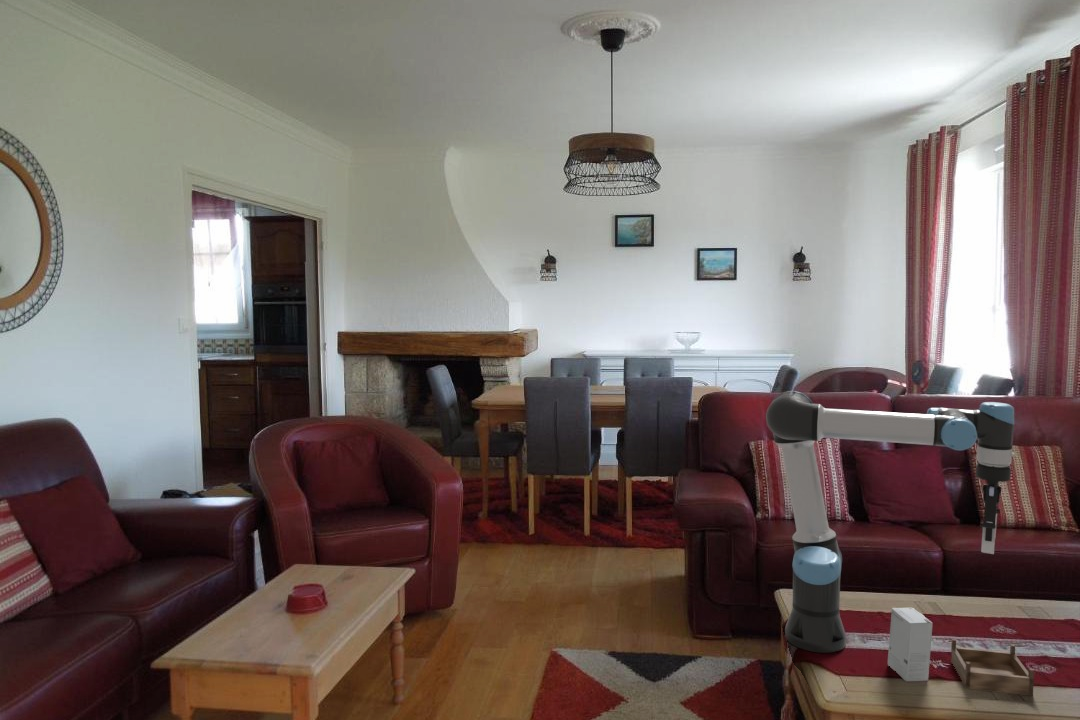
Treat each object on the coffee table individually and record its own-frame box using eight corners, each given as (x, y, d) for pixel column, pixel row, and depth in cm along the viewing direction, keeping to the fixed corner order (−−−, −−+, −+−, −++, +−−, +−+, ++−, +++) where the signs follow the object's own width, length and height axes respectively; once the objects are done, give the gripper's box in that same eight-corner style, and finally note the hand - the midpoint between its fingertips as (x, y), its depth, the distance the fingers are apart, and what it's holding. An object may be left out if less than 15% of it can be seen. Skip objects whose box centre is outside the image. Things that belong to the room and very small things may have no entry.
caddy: (965, 688, 170) (966, 663, 170) (950, 661, 182) (951, 638, 182) (1032, 695, 166) (1034, 670, 166) (1013, 668, 179) (1014, 644, 178)
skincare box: (886, 665, 181) (888, 607, 180) (910, 663, 182) (911, 605, 180) (907, 683, 173) (909, 622, 171) (931, 681, 173) (933, 620, 172)
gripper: (1010, 476, 174) (1004, 562, 176) (1011, 456, 195) (1006, 534, 197) (974, 471, 178) (968, 556, 180) (978, 452, 199) (974, 529, 201)
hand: (988, 545), depth 189 cm, fingers open, 13 cm apart
